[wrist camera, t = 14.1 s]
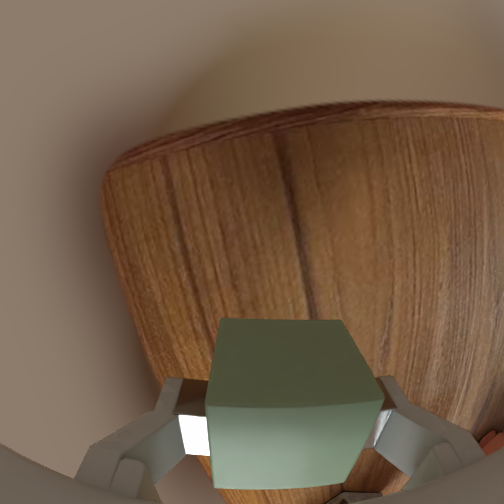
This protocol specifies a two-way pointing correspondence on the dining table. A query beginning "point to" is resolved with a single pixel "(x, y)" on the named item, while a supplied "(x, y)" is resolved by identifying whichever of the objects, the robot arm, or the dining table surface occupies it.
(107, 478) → the robot arm
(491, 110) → the dining table surface
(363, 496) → the coffee box
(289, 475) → the block
